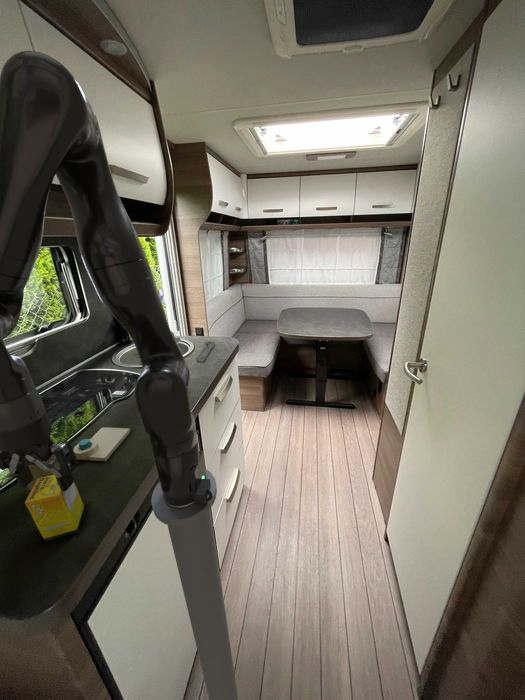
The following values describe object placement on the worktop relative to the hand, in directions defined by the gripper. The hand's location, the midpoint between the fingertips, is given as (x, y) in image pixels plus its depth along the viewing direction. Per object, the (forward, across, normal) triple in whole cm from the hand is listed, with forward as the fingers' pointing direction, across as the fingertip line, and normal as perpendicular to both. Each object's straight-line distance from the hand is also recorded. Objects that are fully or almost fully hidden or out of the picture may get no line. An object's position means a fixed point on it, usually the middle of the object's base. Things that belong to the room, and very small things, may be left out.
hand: (47, 485), depth 54 cm
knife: (+11, +2, +91) cm, 92 cm away
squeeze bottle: (+11, -9, +8) cm, 17 cm away
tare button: (+8, -9, +19) cm, 22 cm away
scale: (+11, -7, +23) cm, 26 cm away
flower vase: (+11, +1, +49) cm, 50 cm away
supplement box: (+11, 0, 0) cm, 11 cm away
